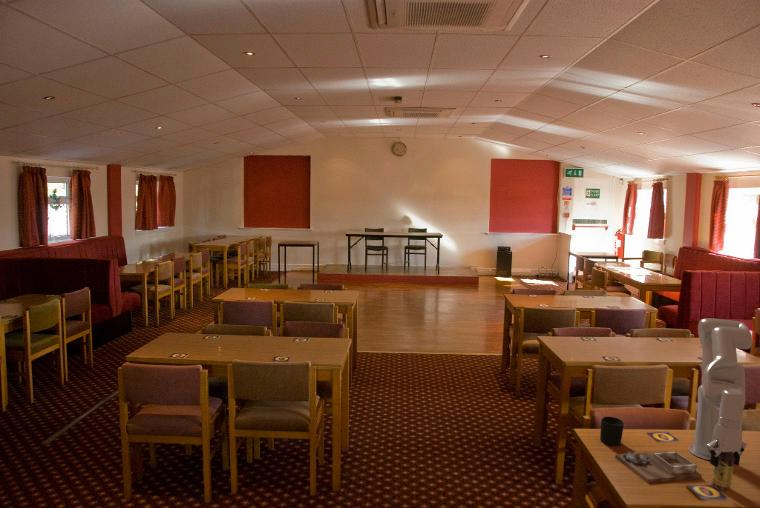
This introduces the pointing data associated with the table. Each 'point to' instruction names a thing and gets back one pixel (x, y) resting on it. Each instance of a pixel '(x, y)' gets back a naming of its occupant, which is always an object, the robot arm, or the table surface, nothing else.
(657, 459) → the gear board
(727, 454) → the sauce bottle
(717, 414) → the robot arm
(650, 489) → the table surface
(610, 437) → the pen holder
